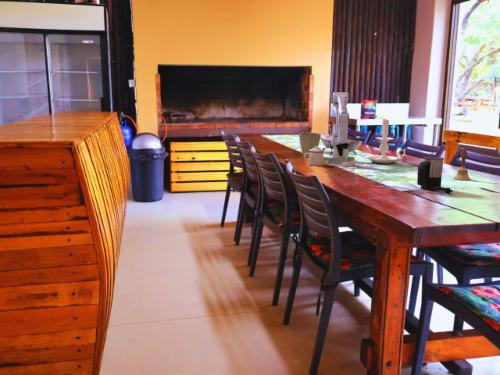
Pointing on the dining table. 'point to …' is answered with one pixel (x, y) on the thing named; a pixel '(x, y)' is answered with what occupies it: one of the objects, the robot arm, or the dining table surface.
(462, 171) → the hand bell
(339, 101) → the robot arm
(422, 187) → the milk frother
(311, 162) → the teacup with lid
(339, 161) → the dish rack
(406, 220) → the dining table surface
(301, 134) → the plant pot
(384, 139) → the candlestick
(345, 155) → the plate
